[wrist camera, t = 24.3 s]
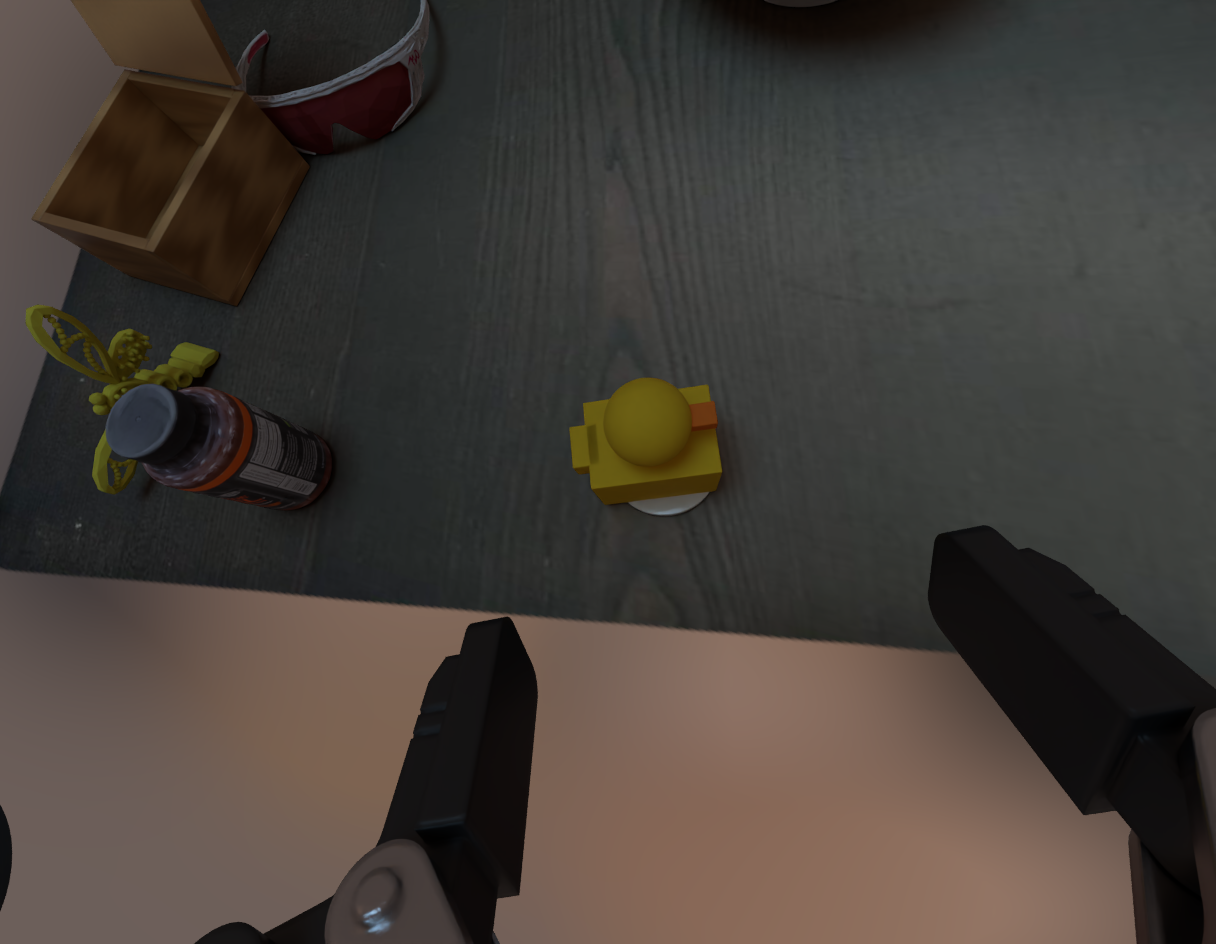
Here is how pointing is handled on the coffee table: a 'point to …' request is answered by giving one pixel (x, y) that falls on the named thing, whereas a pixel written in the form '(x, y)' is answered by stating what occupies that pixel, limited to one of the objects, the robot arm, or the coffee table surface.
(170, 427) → the supplement bottle
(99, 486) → the decorative insect
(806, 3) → the decorative bowl
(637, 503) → the coaster
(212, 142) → the chest
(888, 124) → the coffee table surface
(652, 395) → the duck
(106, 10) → the lid
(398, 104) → the sunglasses
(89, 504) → the coffee table surface
